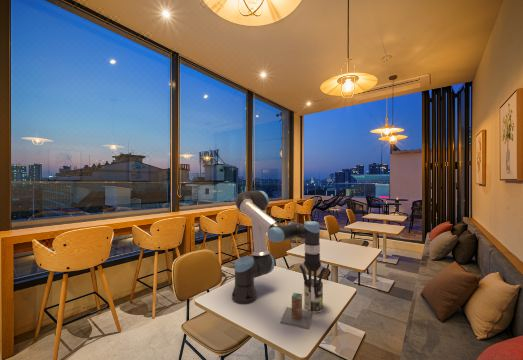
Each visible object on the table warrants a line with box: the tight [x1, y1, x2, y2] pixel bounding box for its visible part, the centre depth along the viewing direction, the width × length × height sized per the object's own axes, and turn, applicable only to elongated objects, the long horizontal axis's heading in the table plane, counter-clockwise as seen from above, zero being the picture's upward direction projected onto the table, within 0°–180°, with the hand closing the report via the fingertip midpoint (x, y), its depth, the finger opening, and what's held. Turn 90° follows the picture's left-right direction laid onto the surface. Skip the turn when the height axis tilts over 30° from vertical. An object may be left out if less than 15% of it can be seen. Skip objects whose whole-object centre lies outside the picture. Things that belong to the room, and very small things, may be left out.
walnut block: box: [291, 292, 303, 320], centre depth 119 cm, size 4×4×11 cm
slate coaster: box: [279, 306, 313, 330], centre depth 120 cm, size 14×14×1 cm
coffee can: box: [303, 278, 324, 314], centre depth 129 cm, size 10×10×14 cm
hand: (312, 299), depth 117 cm, fingers closed
